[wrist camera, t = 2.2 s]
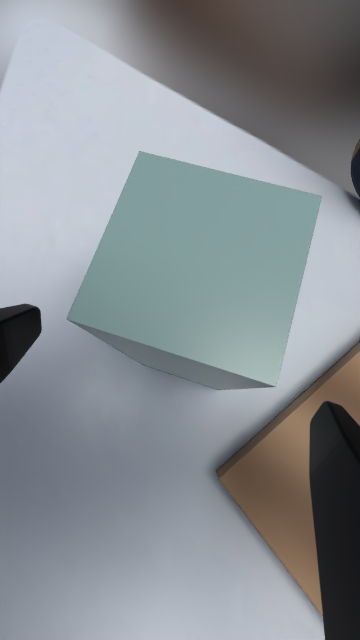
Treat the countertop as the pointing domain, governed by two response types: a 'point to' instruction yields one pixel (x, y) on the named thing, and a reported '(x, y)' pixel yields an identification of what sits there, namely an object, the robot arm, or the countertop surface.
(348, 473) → the robot arm
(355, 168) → the canister
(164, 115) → the countertop surface
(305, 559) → the stand
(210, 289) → the tall sage green block
